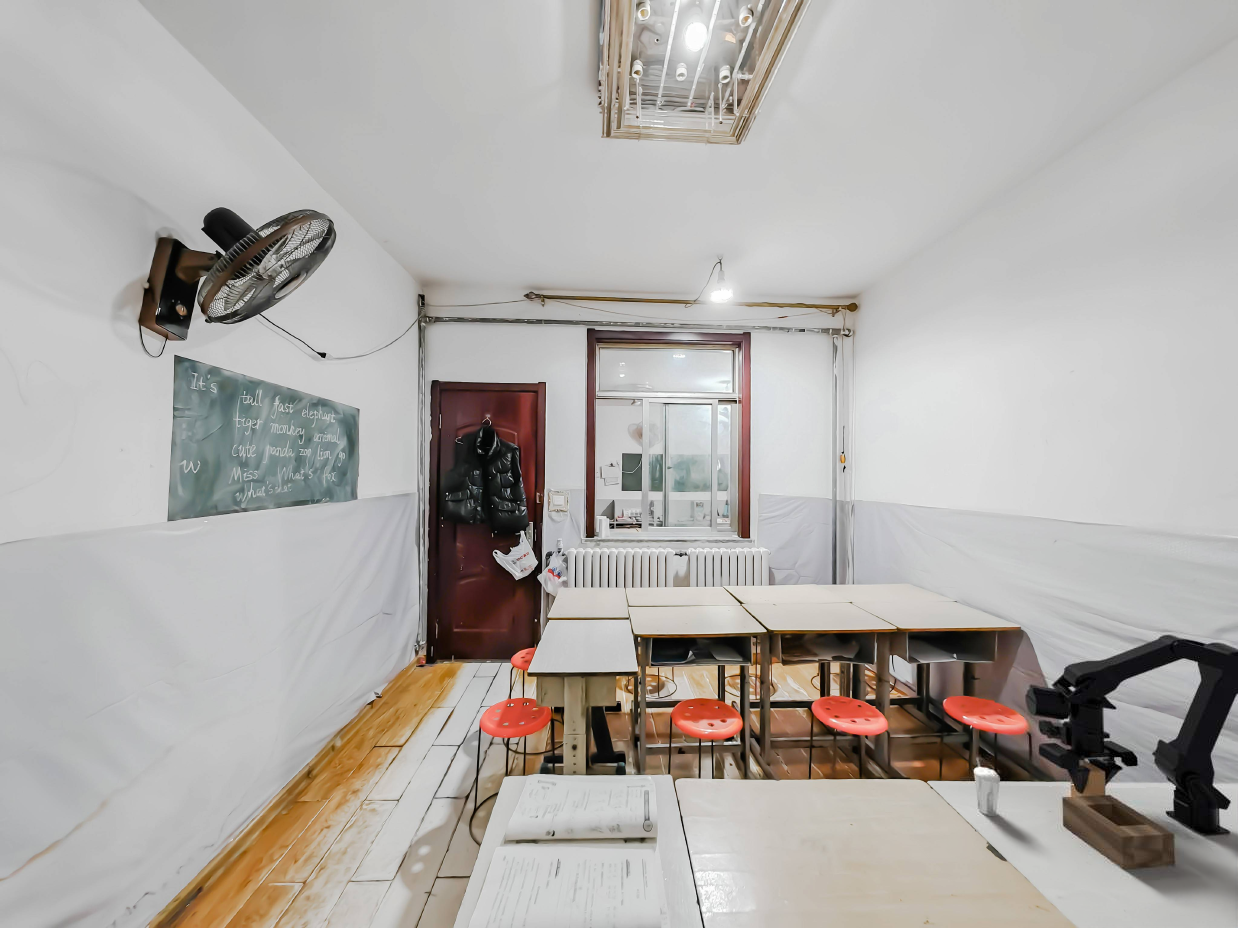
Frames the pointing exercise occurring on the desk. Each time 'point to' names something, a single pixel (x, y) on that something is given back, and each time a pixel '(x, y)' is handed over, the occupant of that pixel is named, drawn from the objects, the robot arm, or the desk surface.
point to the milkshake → (986, 789)
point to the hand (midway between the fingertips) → (1088, 791)
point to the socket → (1119, 832)
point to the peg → (1092, 782)
